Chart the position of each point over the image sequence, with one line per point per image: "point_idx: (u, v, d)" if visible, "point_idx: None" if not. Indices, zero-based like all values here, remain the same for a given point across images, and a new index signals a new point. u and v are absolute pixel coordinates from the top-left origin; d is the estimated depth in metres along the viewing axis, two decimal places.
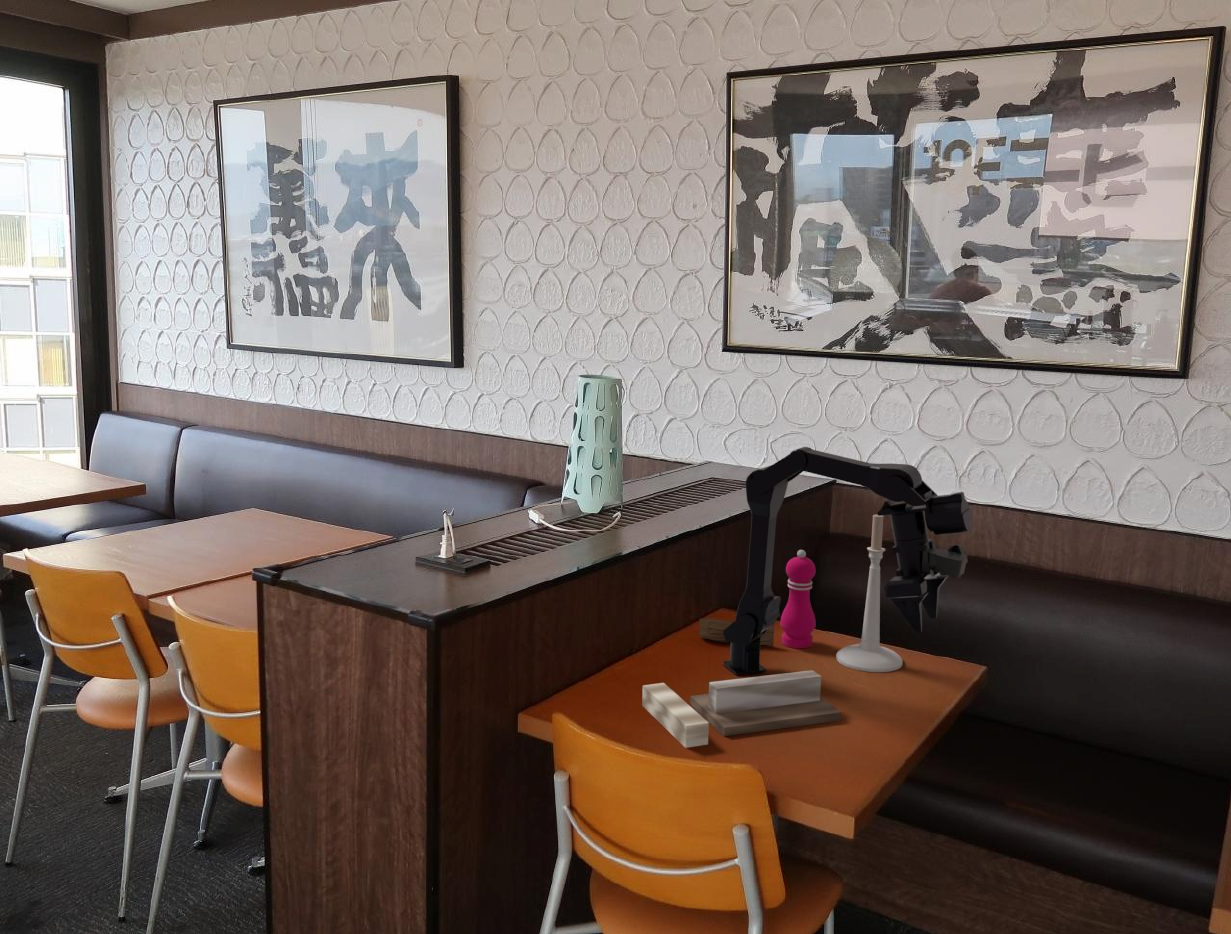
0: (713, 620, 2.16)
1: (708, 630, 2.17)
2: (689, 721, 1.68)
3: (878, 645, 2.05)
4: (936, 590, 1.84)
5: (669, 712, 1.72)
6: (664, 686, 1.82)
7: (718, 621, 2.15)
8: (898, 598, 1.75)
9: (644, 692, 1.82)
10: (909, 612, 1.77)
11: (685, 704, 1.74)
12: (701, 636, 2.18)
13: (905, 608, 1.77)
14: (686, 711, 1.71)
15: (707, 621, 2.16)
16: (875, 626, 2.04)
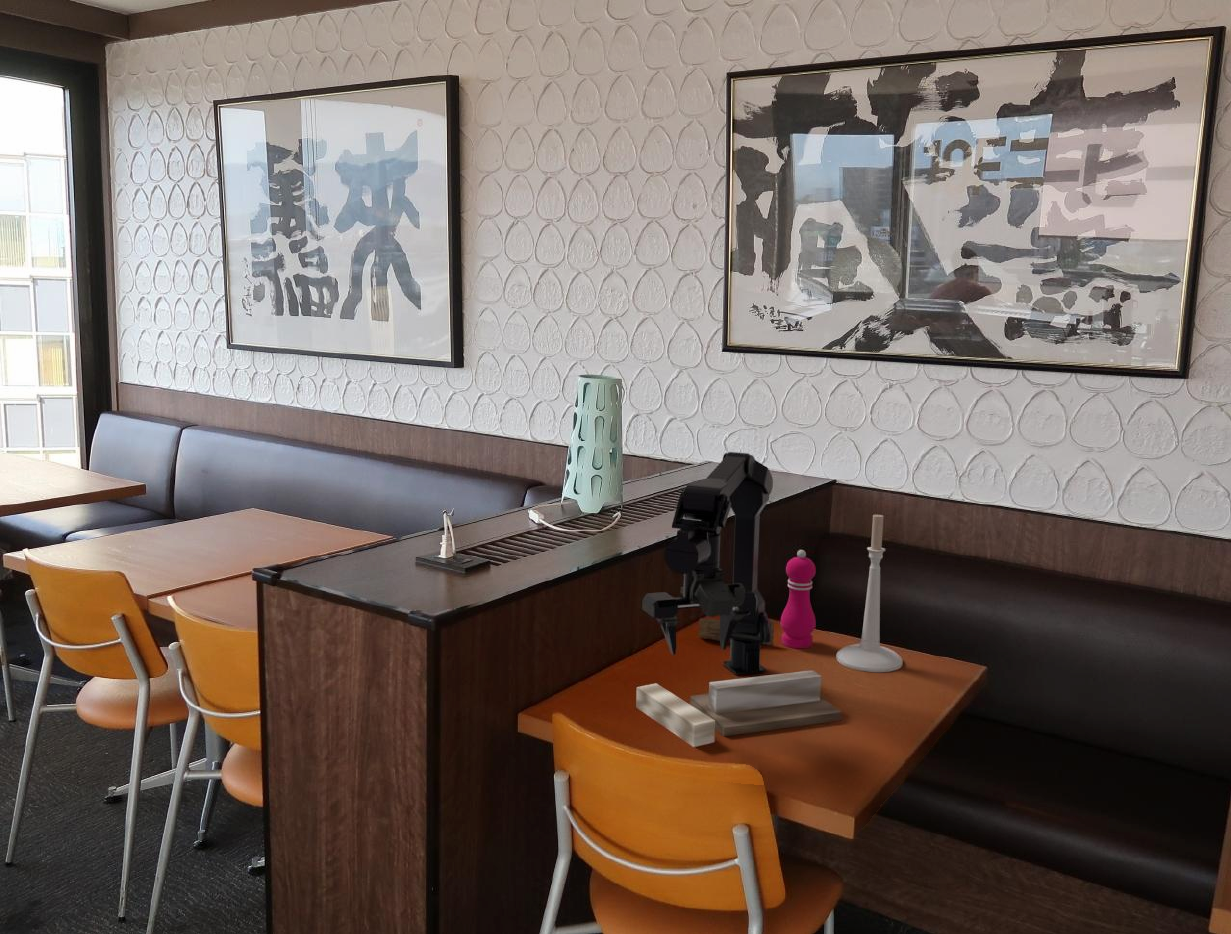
0: (713, 620, 2.16)
1: (708, 630, 2.17)
2: (695, 720, 1.68)
3: (878, 645, 2.05)
4: (729, 622, 1.74)
5: (672, 713, 1.72)
6: (657, 686, 1.82)
7: (718, 621, 2.15)
8: None
9: (639, 694, 1.81)
10: (666, 631, 1.72)
11: (685, 703, 1.75)
12: (700, 636, 2.19)
13: (663, 626, 1.72)
14: (689, 710, 1.72)
15: (706, 621, 2.16)
16: (875, 626, 2.04)
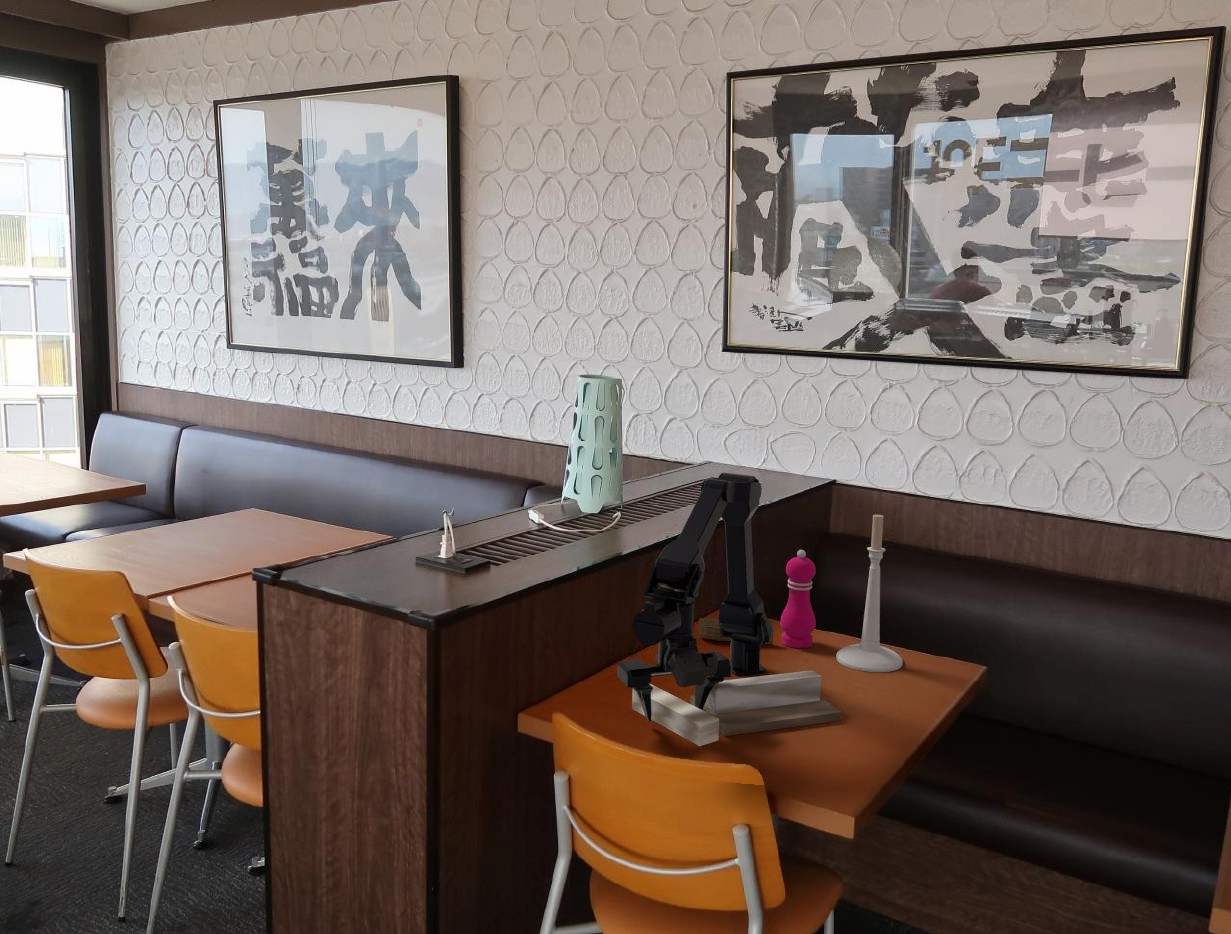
0: (713, 619, 2.16)
1: (708, 630, 2.17)
2: (699, 719, 1.68)
3: (878, 645, 2.05)
4: (703, 689, 1.75)
5: (674, 713, 1.72)
6: (653, 687, 1.82)
7: (718, 620, 2.16)
8: None
9: (635, 695, 1.80)
10: (641, 698, 1.73)
11: (685, 703, 1.75)
12: (700, 636, 2.19)
13: (639, 692, 1.73)
14: (690, 710, 1.72)
15: (706, 621, 2.16)
16: (875, 626, 2.04)
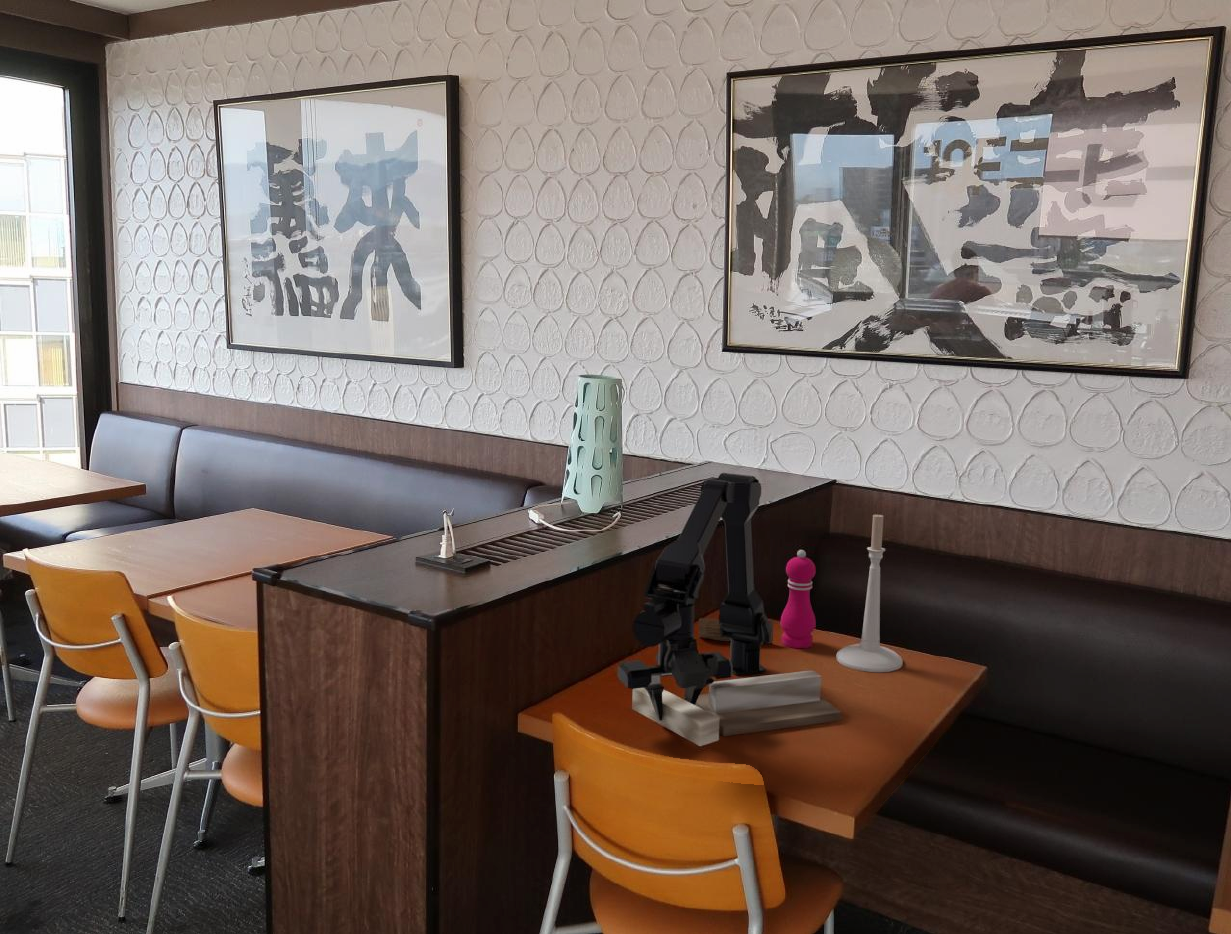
0: (712, 619, 2.16)
1: (707, 630, 2.17)
2: (700, 718, 1.68)
3: (878, 645, 2.05)
4: (693, 691, 1.74)
5: (674, 711, 1.72)
6: None
7: (717, 620, 2.16)
8: None
9: (635, 694, 1.80)
10: (652, 697, 1.74)
11: (685, 702, 1.75)
12: (700, 636, 2.19)
13: (650, 692, 1.74)
14: (691, 709, 1.72)
15: (706, 621, 2.16)
16: (875, 626, 2.04)
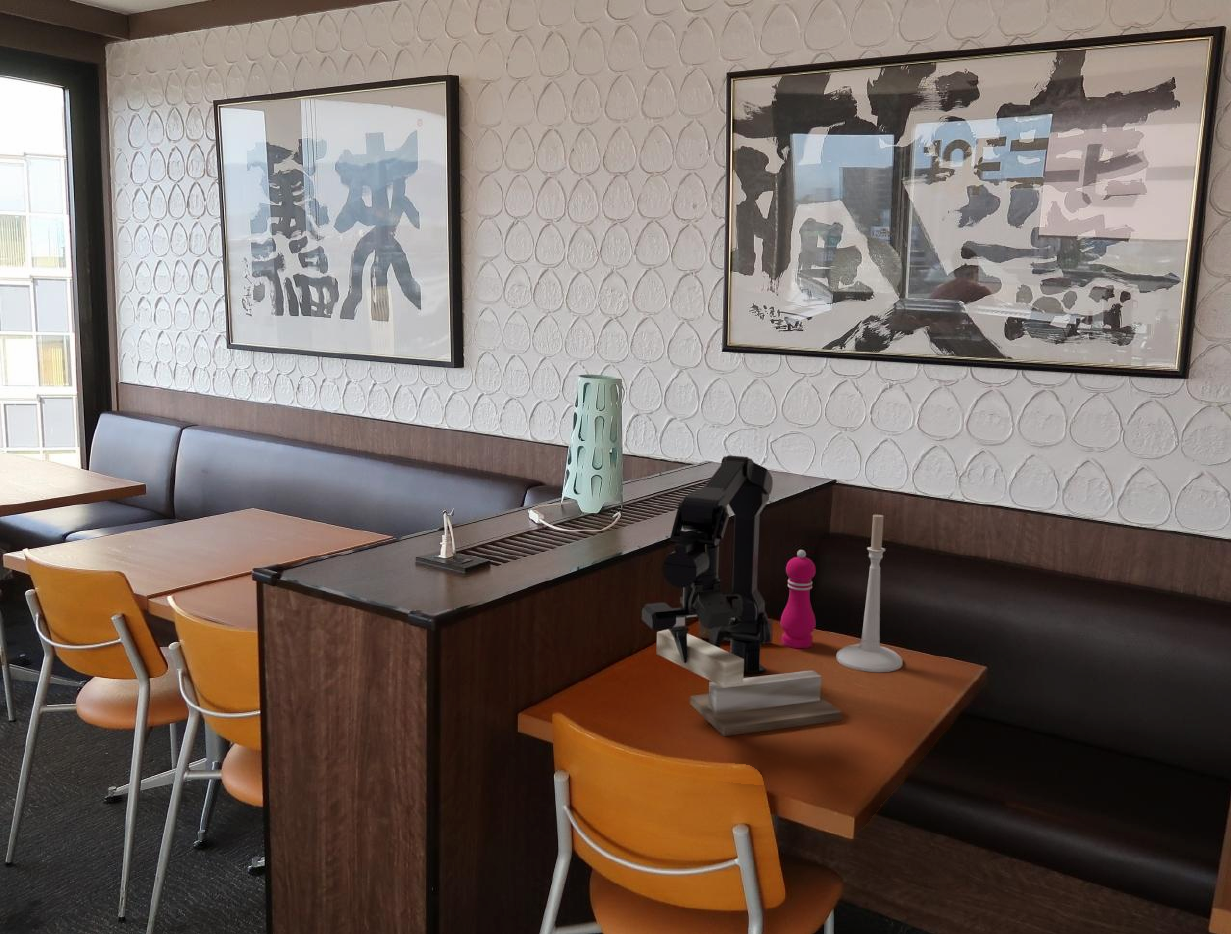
0: None
1: (707, 630, 2.17)
2: (724, 659, 1.68)
3: (878, 645, 2.05)
4: (717, 633, 1.74)
5: (699, 654, 1.72)
6: None
7: None
8: None
9: (659, 638, 1.80)
10: (677, 640, 1.74)
11: (710, 645, 1.75)
12: (699, 635, 2.19)
13: (674, 634, 1.74)
14: (715, 651, 1.72)
15: None
16: (875, 626, 2.04)
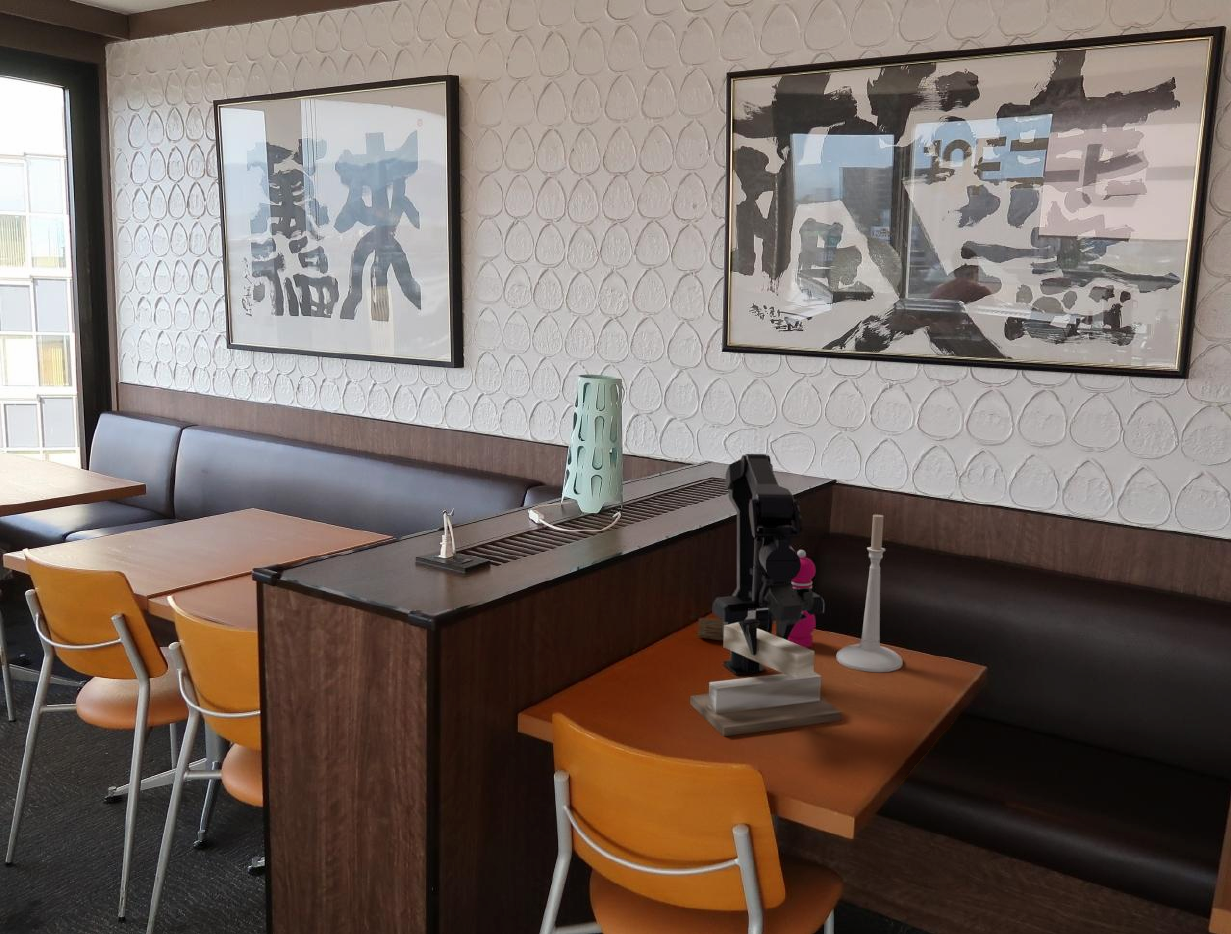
0: (712, 619, 2.16)
1: (707, 630, 2.17)
2: (795, 651, 1.72)
3: (878, 645, 2.05)
4: (786, 626, 1.78)
5: (769, 646, 1.76)
6: None
7: (717, 620, 2.16)
8: None
9: (727, 632, 1.84)
10: (746, 633, 1.78)
11: (778, 638, 1.79)
12: (699, 635, 2.19)
13: (744, 627, 1.78)
14: (785, 643, 1.76)
15: (706, 620, 2.17)
16: (875, 626, 2.04)
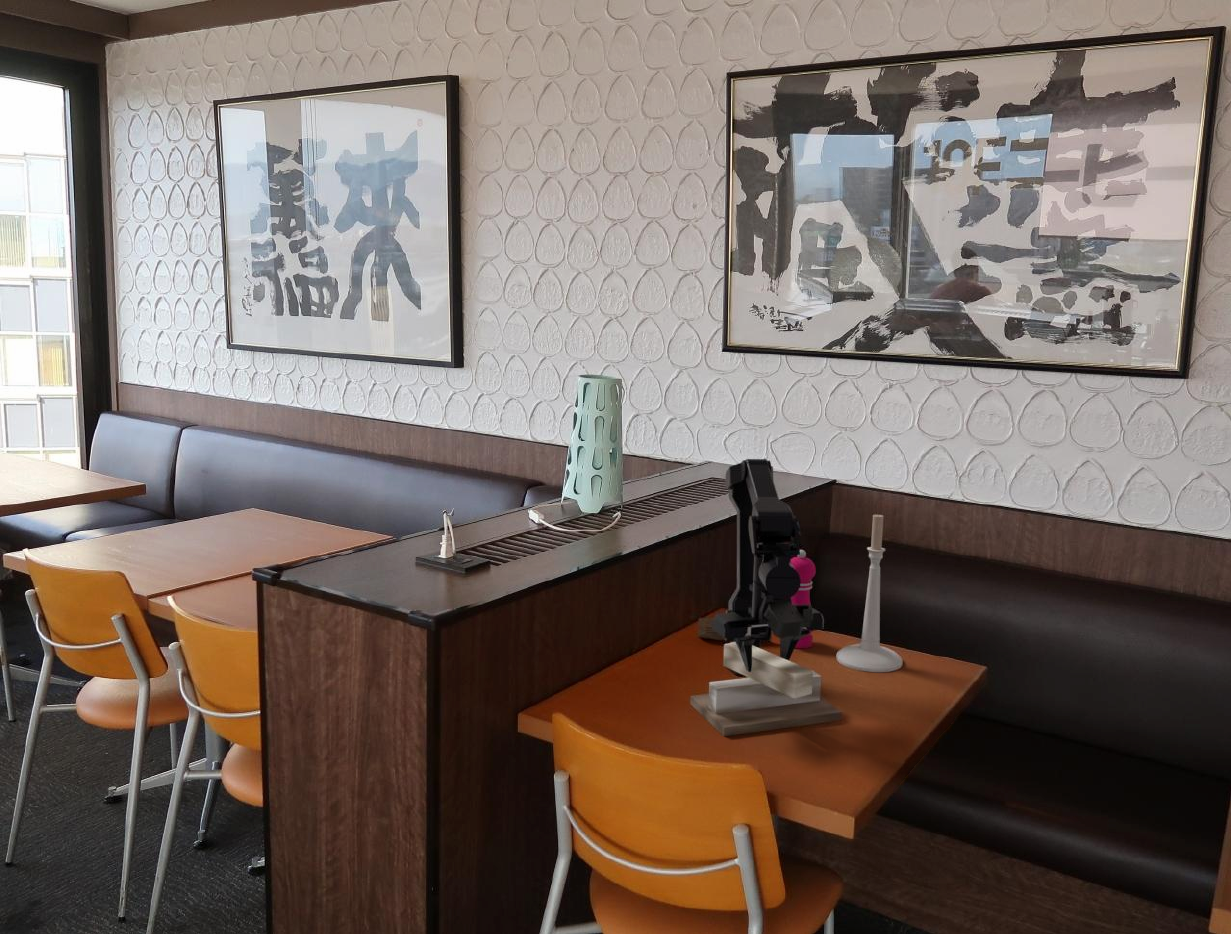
0: (712, 619, 2.16)
1: (707, 630, 2.17)
2: (794, 671, 1.73)
3: (878, 645, 2.05)
4: (790, 642, 1.79)
5: (768, 665, 1.76)
6: None
7: None
8: None
9: (727, 650, 1.85)
10: (741, 649, 1.78)
11: (777, 657, 1.79)
12: (699, 636, 2.19)
13: (739, 644, 1.78)
14: (784, 663, 1.76)
15: (705, 620, 2.17)
16: (875, 626, 2.04)
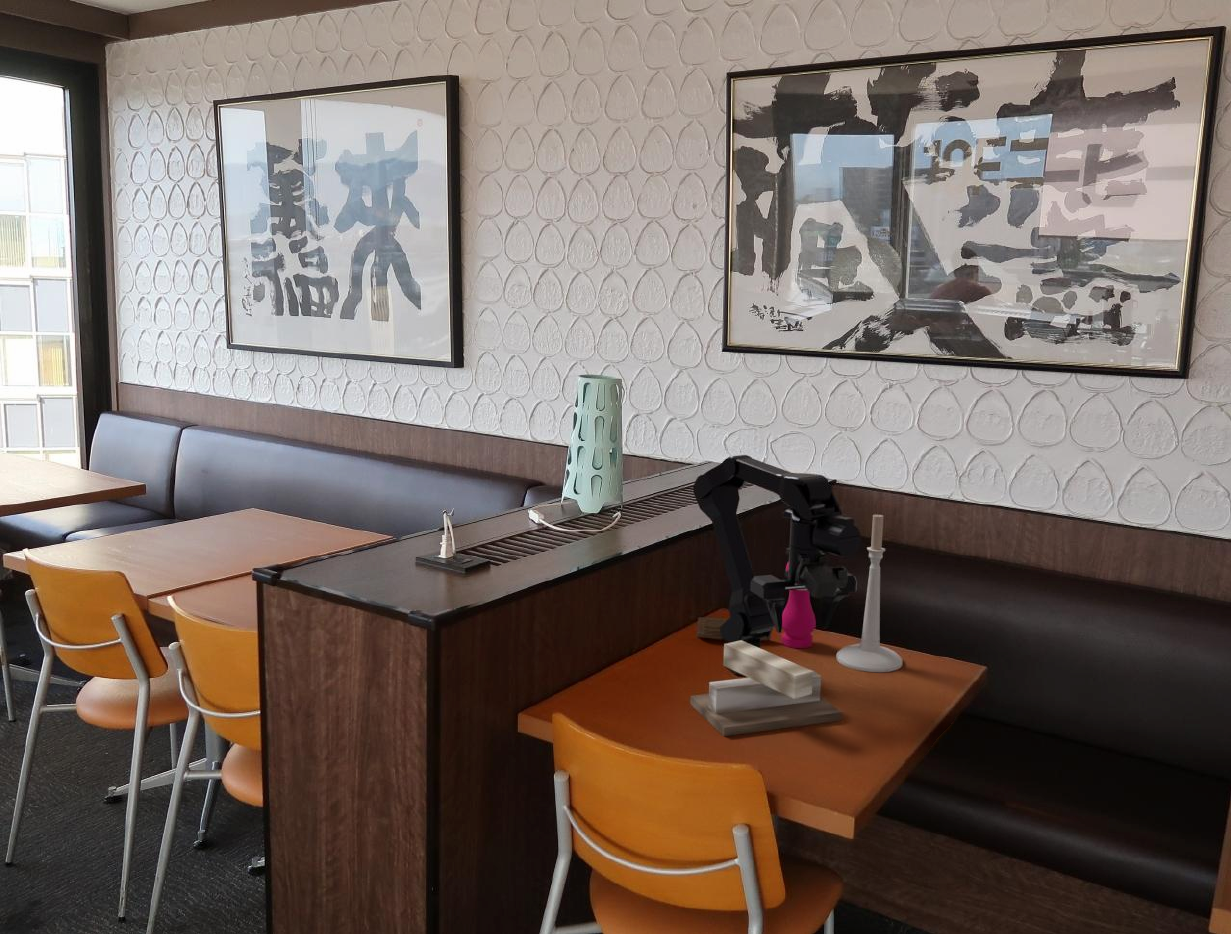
0: (711, 618, 2.17)
1: (706, 629, 2.17)
2: (794, 671, 1.73)
3: (878, 645, 2.05)
4: (830, 603, 1.87)
5: (768, 665, 1.76)
6: (744, 643, 1.86)
7: (716, 619, 2.17)
8: None
9: (727, 650, 1.85)
10: (772, 611, 1.86)
11: (778, 657, 1.79)
12: (698, 635, 2.19)
13: (770, 606, 1.86)
14: (784, 663, 1.76)
15: (705, 620, 2.17)
16: (875, 626, 2.04)
